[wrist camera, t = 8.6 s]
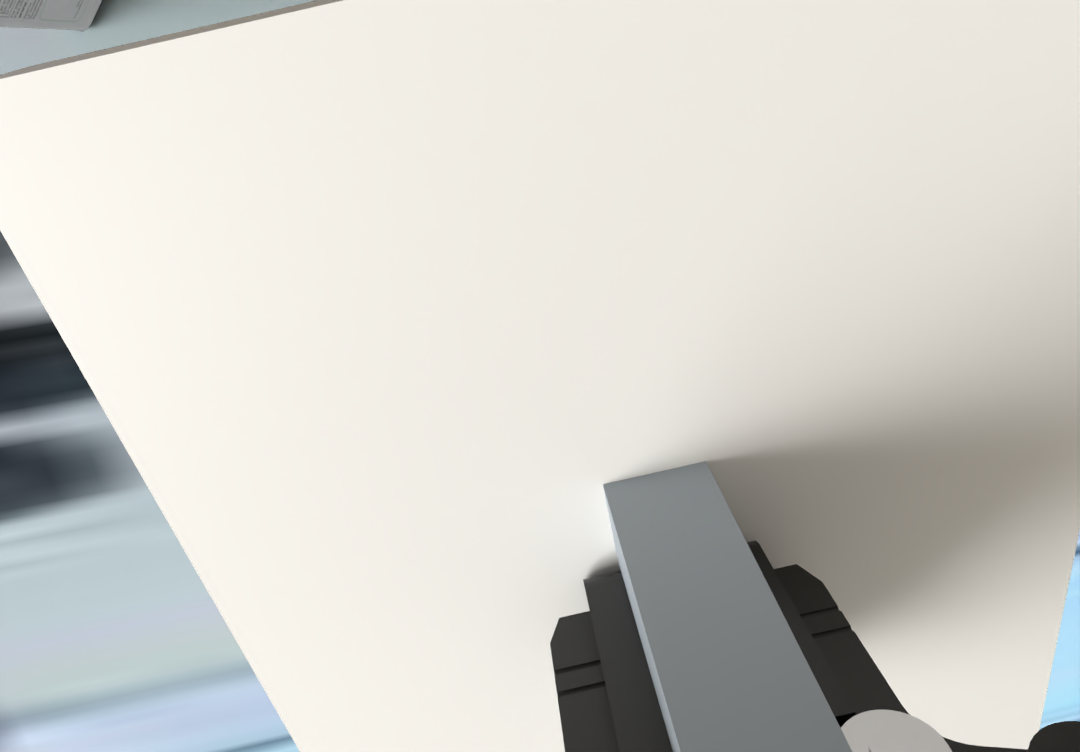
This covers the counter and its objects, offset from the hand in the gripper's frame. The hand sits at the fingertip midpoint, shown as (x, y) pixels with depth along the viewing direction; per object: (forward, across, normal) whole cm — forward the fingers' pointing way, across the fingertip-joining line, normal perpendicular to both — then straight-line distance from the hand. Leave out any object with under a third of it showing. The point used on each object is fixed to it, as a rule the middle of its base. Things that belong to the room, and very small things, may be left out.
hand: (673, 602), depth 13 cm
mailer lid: (+3, 0, 0) cm, 3 cm away
